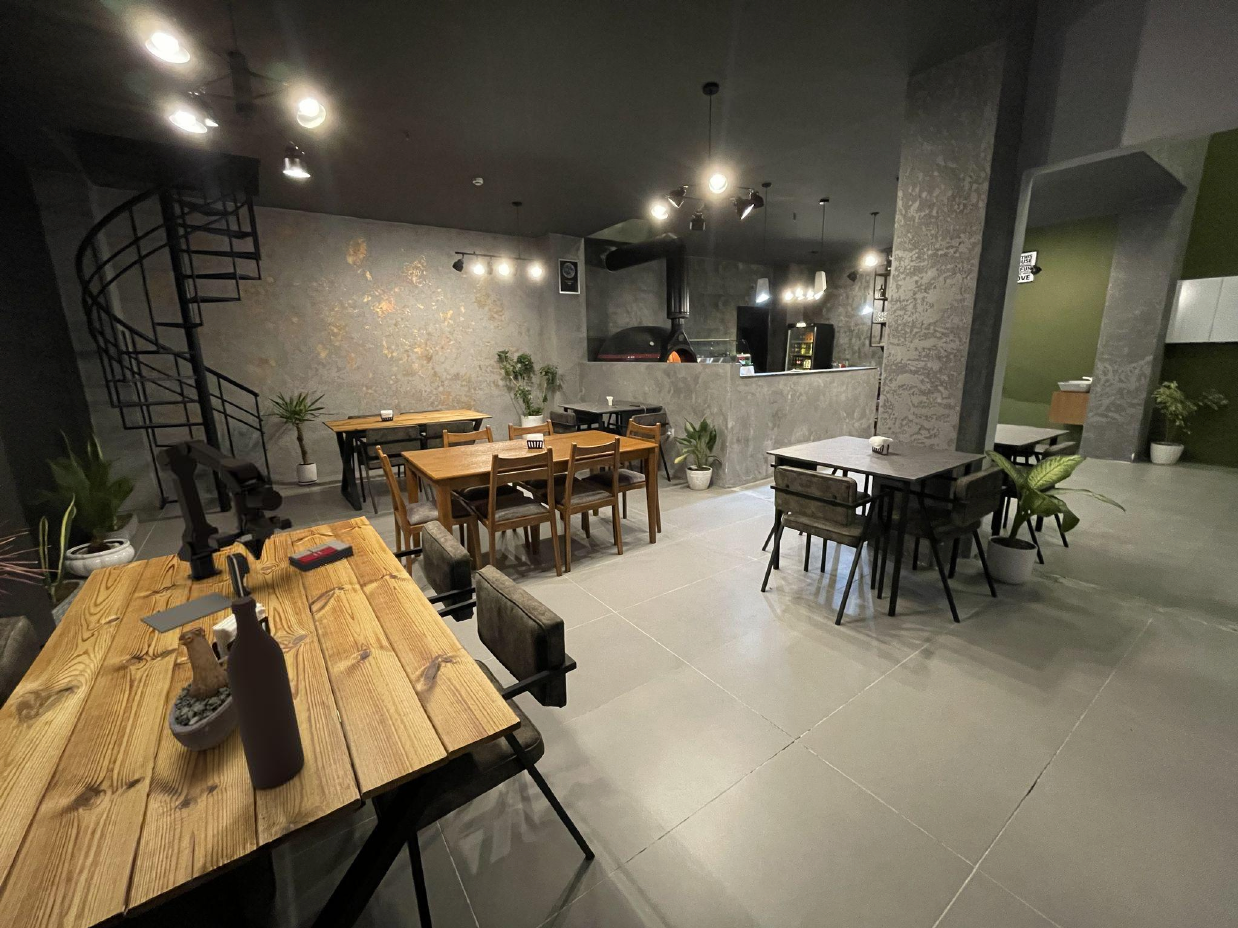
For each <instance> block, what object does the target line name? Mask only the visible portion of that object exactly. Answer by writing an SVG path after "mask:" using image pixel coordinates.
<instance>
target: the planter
mask: <svg viewBox="0 0 1238 928" xmlns="http://www.w3.org/2000/svg"><path fill="white" fill-rule="evenodd" d="M178 641H181V643H180V646H184V647H185V648H186V652H187V655H188V660H189V662H190V666H191V670H192V677H193V679H192V680H190V682H188V684H186V686H185V687H181V691H179V692H178V696H177V697H176V698H175V700H174V702H173V704H172V705H171V708H170V710H169V713H168V716H169V717H168V727H169V730H170V732H171V735H172V736H173V737H174V738H175V740H176V741H177V742H178V743H180V744H181V745H182V746H183V747H185V748H187V749H189V750H190V751H202V750H210V749H215V748H216V747H217V746H219V745H220V744H221V743H223V742H224V741H225V740H226V739H227V738H228V737H229V735H231V734H232V732H233V731H234V730H235V729H236V728H237V725H238V723H237V718H236V714H235V710H234V705H233V701H232V697H231V692H230V688H229V683H228V678H227V671H226V667H227V658H228V655H226V656H224V657H222V658H221V659H219V660H218V659H217V658H216V655H215V653H214V651H213V648H212V646H211V644H210V643H209V640H208V639H207V637H206V629H205V628H203V627H202V626H197V627H194V628H191V629H188V630H185V631H183V632H181V633H180V634H179V635H178Z"/></svg>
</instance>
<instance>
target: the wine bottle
mask: <svg viewBox="0 0 1238 928" xmlns="http://www.w3.org/2000/svg"><path fill="white" fill-rule="evenodd" d="M233 600H234V601H233V602H232V605H231V607H230V610H231V614H232V615H233V616H234V619H235V623H236V634H235V636H234V640H233V643H232V645H231V647H230V648H229V649H230V650H229V652H228V655H227V656H228V658H227V667H226V671H227V678H228V683H229V688H230V692H231V697H232V701H233V705H234V710H235V714H236V718H237V723H238V724H237V725H238V727H237V728H238V731H239V736H240V739H241V744H242V748H243V752H244V756H245V757H244V758H245V762H246V765H247V770H248V776H249V778H250V782H251V785H252V787H254V788H255V789H256V790H258V791H259V790H260V791H269V790H273V789H277V788H278V787H281V786H283V785H285V784H287V783H289V782H290V781H291V780H293V779H294V778H295V777H296V776H297V775H299V773H301V770H302V769H303V768H304V765H305V753H304V748H303V744H302V738H301V733H300V727H299V723H298V718H297V713H296V708H295V703H294V698H293V693H292V687H291V681H290V677H289V673H288V667H287V662H286V657H285V655H284V654H285V653H284V650H283V649H282V646H281V645H280V644H279V642H278V641H277V640H276V638H275V637H274V636H273V635H271V634H270V633H269V632H268V631H267V630H265V629H264V627H263V626H261V624H260V621H259V619H258V615H257V601H256V599H255V598H254V596H251V595H246V596H243V597H238V598H236V599H233ZM268 789H269V790H268Z"/></svg>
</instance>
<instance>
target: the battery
mask: <svg viewBox="0 0 1238 928" xmlns="http://www.w3.org/2000/svg"><path fill="white" fill-rule="evenodd" d="M225 558H226V564H227V568H228V573H229V577H230V581H231V586H232V590H233V592H234V593H235V595H236V596H237V597H238V598H241V597H245V596H250V594H252V591H251V589H250V587H249V586H248V585H245V584H244V579H245V577H246V575H248V574H250V573H251V569H250V565H249V561H248V559H247V557H246V556H245V555H244V554H243V553H242V552H235V553H229V554H227V555H226V557H225Z"/></svg>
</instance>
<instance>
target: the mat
mask: <svg viewBox="0 0 1238 928" xmlns="http://www.w3.org/2000/svg"><path fill="white" fill-rule="evenodd" d="M234 600H235V599H232V598H230V597H228V596H225V595H223V594H221V593H219V592H218V591H214V592H211V593H208V594H206V595H202V596H199V597H196V598H194V599H191V600H189V601H185V602H183V603H181V604H177V605H175V606H172V607H168V608H167V609H164V610H161V611H158V612H155V613H153V614H149V615H147V616H145V617H141V618H140V621H141V622H143V623H144V624H146V625H148V626H149V627H151V628H153V629H154V630H156V631H157V632H159V633H161V634H164V633H167V632H170V631H172V630H175V629H177V628H180V627H182V626H185V625H188V624H190V623H193V622H195V621H198V620H201V619H203V618H206V617H208V616H211V615H214V614H216V613H219V612H222V611H224V610H227V609H228V608H231V605H232V602H233V601H234Z"/></svg>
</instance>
